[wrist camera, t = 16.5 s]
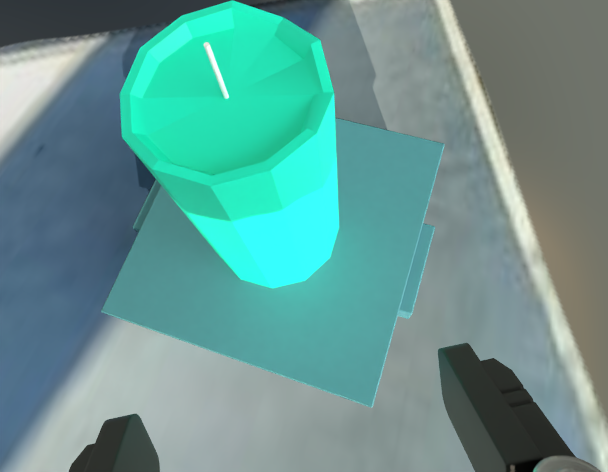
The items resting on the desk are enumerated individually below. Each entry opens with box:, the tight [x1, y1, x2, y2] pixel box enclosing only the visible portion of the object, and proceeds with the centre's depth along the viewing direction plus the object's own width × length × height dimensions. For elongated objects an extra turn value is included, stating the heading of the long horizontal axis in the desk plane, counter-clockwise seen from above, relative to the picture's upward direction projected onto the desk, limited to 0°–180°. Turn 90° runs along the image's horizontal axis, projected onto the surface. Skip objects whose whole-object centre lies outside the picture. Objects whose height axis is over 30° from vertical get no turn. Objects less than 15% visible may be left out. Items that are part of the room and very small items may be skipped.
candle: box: [120, 0, 339, 288], centre depth 17 cm, size 6×6×12 cm
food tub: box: [101, 118, 444, 407], centre depth 25 cm, size 14×13×6 cm
